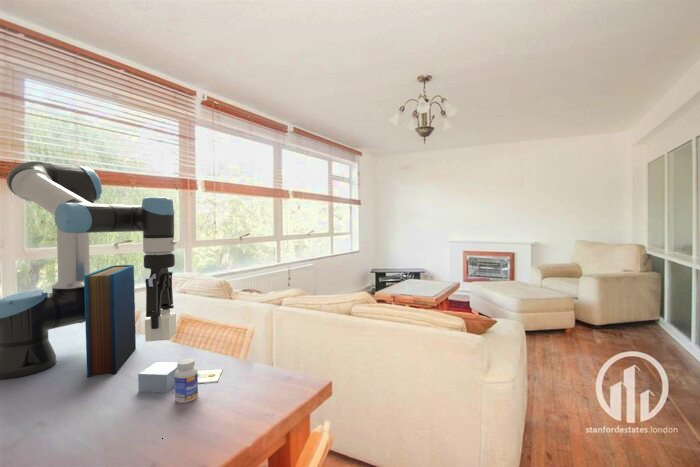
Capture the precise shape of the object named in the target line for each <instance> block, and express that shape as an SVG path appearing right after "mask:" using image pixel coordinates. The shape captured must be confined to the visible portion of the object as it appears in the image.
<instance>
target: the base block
mask: <svg viewBox="0 0 700 467" xmlns="http://www.w3.org/2000/svg"><path fill="white" fill-rule="evenodd" d="M177 363H178V361H177V362H176V361H174V362H171V361H156V362H154V363H153V364H151V365H150V366H148V367H147V368H145V369H143V370H142V371H141V372H139V373H138V374H137V376H138V378H137V379H138V380H137V382H138V383H137V384H138V392H140V393H141V392H144V393H145V392H146V393H147V392H149V393H169V391H171V390H172V389H173V388H175V372H176V371H177V370H178V367H177Z"/></svg>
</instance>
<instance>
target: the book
mask: <svg viewBox="0 0 700 467" xmlns="http://www.w3.org/2000/svg"><path fill="white" fill-rule="evenodd" d="M84 290H85V322H84V323H85V324H84V325H85V351H86V353H85V354H86V377H87V378H91V377H92V376H94V375H100V374H107V373H111V374H112V375H117V373H118V372H119V371H120V370H121V368H122V367H123V366H124V365H125V364H126V362H127V361H128V360H129V358H130V357H131V356H132V354H134V352H135V351H136V349H137V346H136V345H137V344H136V343H137V342H136V339H137V338H136V334H137V333H136V302H135V299H136V297H135V265H133V264H123V265H122V264H121V265H120V264H119V265H110V266H107V267H104V268H101V269H99V270H96V271H92V272H90V274H87V275H84Z"/></svg>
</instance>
